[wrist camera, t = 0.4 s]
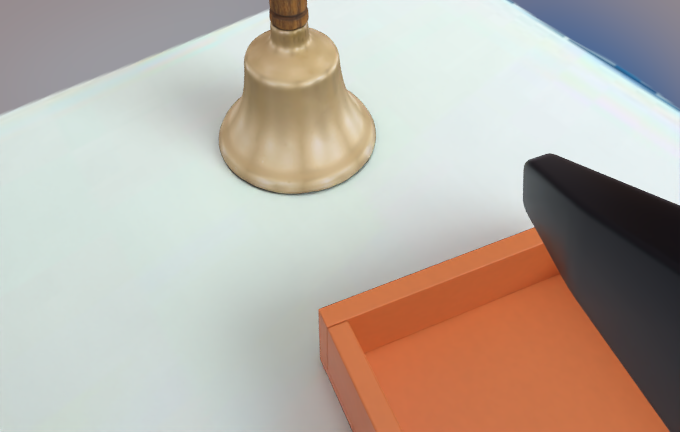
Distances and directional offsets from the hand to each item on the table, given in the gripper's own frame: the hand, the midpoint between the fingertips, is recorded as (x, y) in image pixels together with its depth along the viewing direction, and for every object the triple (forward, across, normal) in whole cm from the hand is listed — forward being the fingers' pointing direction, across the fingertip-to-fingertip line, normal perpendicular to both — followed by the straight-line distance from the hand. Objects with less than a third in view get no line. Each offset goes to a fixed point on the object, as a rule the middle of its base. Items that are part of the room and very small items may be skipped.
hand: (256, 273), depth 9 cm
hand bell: (+20, -2, +12) cm, 24 cm away
